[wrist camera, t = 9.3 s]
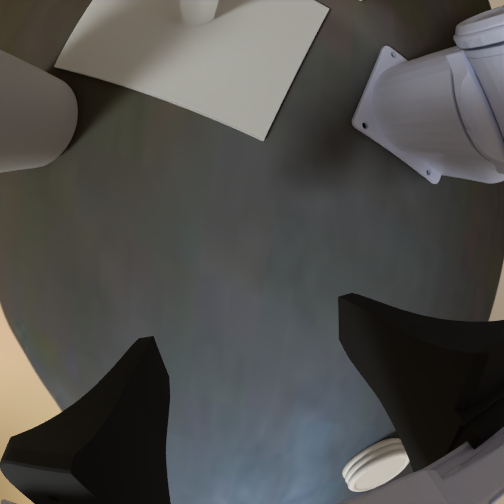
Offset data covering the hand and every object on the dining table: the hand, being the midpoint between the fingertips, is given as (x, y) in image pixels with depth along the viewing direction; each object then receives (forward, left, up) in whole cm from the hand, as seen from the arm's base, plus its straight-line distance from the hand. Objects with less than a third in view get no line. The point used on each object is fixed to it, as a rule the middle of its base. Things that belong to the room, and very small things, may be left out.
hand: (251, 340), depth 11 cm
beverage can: (+16, -4, -11) cm, 20 cm away
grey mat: (+9, -14, -10) cm, 20 cm away
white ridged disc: (-31, +21, -11) cm, 39 cm away
